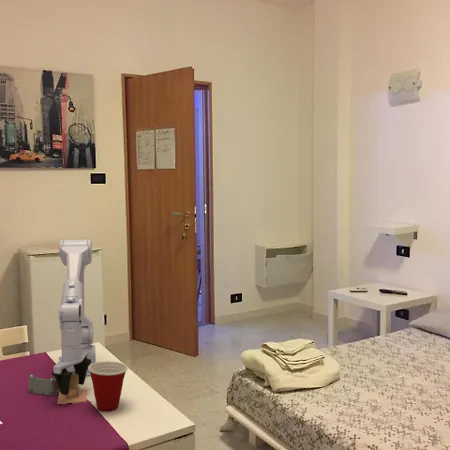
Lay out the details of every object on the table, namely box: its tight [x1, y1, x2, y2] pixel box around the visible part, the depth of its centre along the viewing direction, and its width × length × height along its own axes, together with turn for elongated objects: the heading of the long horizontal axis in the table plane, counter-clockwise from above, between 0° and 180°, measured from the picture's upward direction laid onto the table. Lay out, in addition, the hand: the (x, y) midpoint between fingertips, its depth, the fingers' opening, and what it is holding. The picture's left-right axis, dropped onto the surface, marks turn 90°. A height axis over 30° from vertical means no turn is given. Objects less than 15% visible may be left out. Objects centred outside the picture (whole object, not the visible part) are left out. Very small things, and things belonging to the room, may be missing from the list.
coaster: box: [57, 389, 88, 405], centre depth 153 cm, size 8×8×1 cm
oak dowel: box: [66, 374, 80, 399], centre depth 152 cm, size 4×4×6 cm
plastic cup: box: [88, 360, 129, 413], centre depth 146 cm, size 11×11×12 cm
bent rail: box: [28, 371, 75, 397], centre depth 156 cm, size 14×6×5 cm, turn 104°
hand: (72, 389), depth 152 cm, fingers open, 7 cm apart
